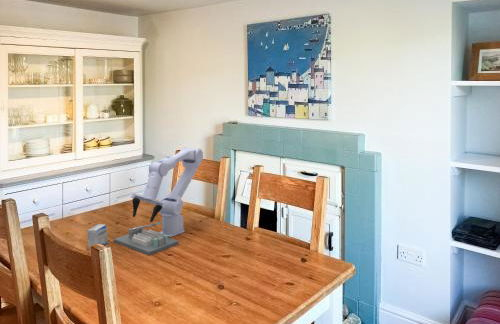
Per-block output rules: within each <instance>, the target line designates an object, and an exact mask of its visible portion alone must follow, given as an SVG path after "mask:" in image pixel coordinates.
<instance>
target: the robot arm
mask: <svg viewBox="0 0 500 324" xmlns="http://www.w3.org/2000/svg"><path fill="white" fill-rule="evenodd" d="M203 160H204V153H203V150H202V149H201V148H193V147H182V148H180V150H179V152H177V153H175V154H174V155H165V157H164V158H162V159H159V161H158V162H157V161H153V162H152V163H151V164H150V165H149V166H148V179H147V181H146V185H145V189H144V190H143V194H137V193H134V192H133V193H131V196H130V198H131V199H132V210H133V211H132V217H133V218H135V217H136V216H137V211H138V208H139V205H140V203H141V202H144V203H148V204H151V205H153V206H154V207H153V210H152V212H151V215H150V216H151V217H150V218H149V219H150V221H149V222H150V223H153V222H154V220H155V218H156V216H157V215H158V214H159V213H160V216H161V225H162V226H161V227H162V230H161V231H158V232H159V233H162V234H163V235H167V237H168V238H171V237H174V236H177V235H179V234H183V233H185V231H186V230H184V217H183V215H182V214H181V212H182V209H183V206H184V202H183V200H182V198H183V196H184V194H185V192H186V191H187V188H188V187H189V185H190V183H191V181H192V180H193V178H194V176H195V175H196V173H197V170H198V168H199V166H200V165H201V164H202V161H203ZM180 162H181V163H182V166H183V168H184V169H183V171H182V172H181V174H180V176H179V178H178V180H177V182H176V184H175V185H174V187H173V189H172V190H171V192H170V193H168V194H167V195H164V196H163V198H162V199H161V200H157V197H158V194H159V190H160V188H161V184H162V182H163V179H164V177H165V176H167V175H168V173H169V172H170V170H172V169H174V168H175V167H176V166H177V163H180Z"/></svg>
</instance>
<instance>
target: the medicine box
mask: <svg viewBox="0 0 500 324" xmlns="http://www.w3.org/2000/svg"><path fill="white" fill-rule="evenodd" d="M86 232H87V244H88V249H89V250H91V249H90V246H91V245H94V244H102V245H104V246H106V245H107V244H108V229H107V224H104V223H103V224H102V223H99V224H95V225H94V226H92V227H91V228H89V229H87V231H86Z"/></svg>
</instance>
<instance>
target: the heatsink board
mask: <svg viewBox="0 0 500 324" xmlns="http://www.w3.org/2000/svg"><path fill="white" fill-rule="evenodd" d="M142 226H143V225H140V224H139V225H137V227H142ZM127 232H128V233H127V234H124V235H122V236H117V237H115V238H113V243H115V244H117V245H120V246H123V247H125V248H127V249H130V250H133V251H137V252H138V253H142V254H144V255H147V256H152V255H155V254H157V253H160V252H162V251H165V250H168V249H170V248H172V247H174V246H178V245H179V243H180V242H179V240H176V239H174V238H171V237H168V236H167V235H163V234H162V233H159V232H160V231H155V230H153V229H148V230H146V229H143V228H141V229H138V230H135V231H133V229H132V228H128V231H127Z"/></svg>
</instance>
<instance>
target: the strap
mask: <svg viewBox="0 0 500 324" xmlns="http://www.w3.org/2000/svg"><path fill="white" fill-rule="evenodd" d="M157 225H162V221H158V222H156V223H150V224H147V225H141V226H142V227H138V226H136V227H133V228H131V229H133V231H135V230H138V229H141V228H142V229H145V228H150V227H154V226H157Z"/></svg>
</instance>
